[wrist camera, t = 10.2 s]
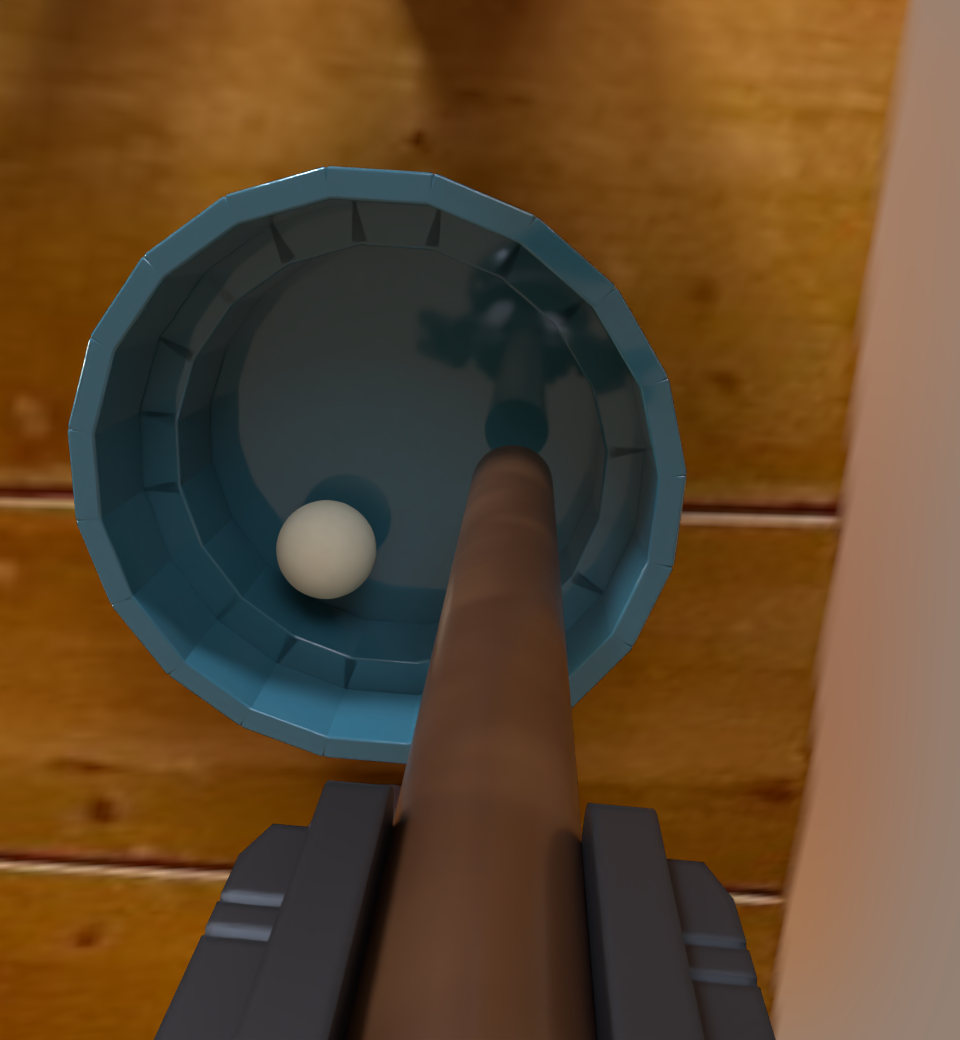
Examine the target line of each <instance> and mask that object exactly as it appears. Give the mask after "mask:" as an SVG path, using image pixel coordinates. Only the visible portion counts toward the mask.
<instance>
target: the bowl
mask: <svg viewBox="0 0 960 1040" xmlns="http://www.w3.org/2000/svg"><path fill="white" fill-rule="evenodd" d="M68 427H69V428H70V429H69V430H68V439H69V450H70V461H71V471H72V482H73V493H74V504H75V515H76V520H77V525H78V527H79V530H80V532H81V535H82V537H83V539H84V542H85V544H86V546H87V549H88V551H89V554H90V556H91V558H92V561H93V563H94V566H95V568H96V570H97V573H98V575H99V577H100V580H101V582H102V585H103V587H104V589H105V592H106V594H107V597H108V599H109V601H110V603H111V604H112V607H113V608H114V609H115V611H116V612H117V613H118V614H119V616H120V617H121V618H122V619H123V620H124V622H125V623H126V624H127V625H128V627H129V628H130V629H131V630H132V632H133V633H134V634H135V635H136V636H137V638H138V639H139V640H140V641H141V643H142V644H143V645H144V646H145V648H146V649H147V650H148V651H149V652H150V654H151V655H152V656H153V657H154V659H155V660H156V661H157V662H158V664H159V665H160V666H161V667H162V668H163V670H164V671H165V672H166V673H167V674H169V675H170V677H172V678H173V679H175V680H176V681H177V682H179V683H180V684H182V685H183V686H184V687H186V688H187V689H189V690H190V691H191V692H193V693H194V694H196V695H197V696H198V697H200V698H201V699H203V700H204V701H205V702H207V703H208V704H210V705H211V706H213V707H214V708H215V709H217V710H218V711H220V712H221V713H222V714H224V715H225V716H227V717H228V718H229V719H231V720H232V721H234V722H235V723H236V724H238V725H242V727H243V728H246V729H248V730H251V731H254V732H257V733H259V734H262V735H265V736H267V737H270V738H273V739H276V740H278V741H281V742H284V743H286V744H289V745H292V746H295V747H297V748H300V749H303V750H305V751H308V752H311V753H314V754H316V755H319V756H323V755H324V756H325V757H331V758H343V759H354V760H366V761H377V762H389V763H400V764H407V760H408V755H409V751H410V747H411V742H412V738H413V734H414V729H415V725H416V721H417V716H418V712H419V708H420V703H421V699H422V695H423V690H424V686H425V681H426V677H427V673H428V668H429V664H430V660H431V655H432V651H433V647H434V642H435V638H436V634H437V629H438V625H439V621H440V616H441V612H442V608H443V603H444V599H445V594H446V590H447V586H448V581H449V577H450V573H451V568H452V564H453V560H454V555H455V551H456V547H457V542H458V538H459V534H460V529H461V525H462V520H463V516H464V512H465V507H466V503H467V499H468V494H469V490H470V486H471V481H472V477H473V473H474V470H475V468H476V466H477V464H478V462H479V461H480V460H481V459H482V458H483V457H484V456H485V455H486V454H487V453H488V452H490V451H492V450H493V449H496V448H498V447H501V446H506V445H518V446H523V447H526V448H529V449H531V450H533V451H535V452H536V453H537V454H539V455H540V456H541V457H542V458H543V459H544V460H545V462H546V463H547V465H548V467H549V469H550V471H551V474H552V479H553V491H554V503H555V515H556V527H557V539H558V551H559V564H560V576H561V588H562V600H563V612H564V625H565V637H566V649H567V661H568V673H569V685H570V698H571V708H573V707H574V706H575V705H576V704H577V703H578V702H579V701H580V700H581V699H582V698H583V697H584V696H585V695H586V694H587V693H588V692H589V691H590V690H591V689H592V688H593V687H594V686H595V685H596V684H597V683H598V682H599V681H600V680H601V679H602V678H603V677H604V676H605V675H606V674H607V673H608V672H609V671H610V670H611V669H612V668H613V667H614V666H615V665H616V664H617V663H618V662H619V661H620V660H621V659H622V658H623V657H624V656H625V655H626V654H627V653H628V652H629V651H630V650H631V649H632V646H633V645H634V644H635V642H636V640H637V638H638V636H639V634H640V632H641V630H642V628H643V626H644V625H645V623H646V621H647V619H648V617H649V615H650V613H651V611H652V609H653V607H654V605H655V603H656V601H657V599H658V597H659V595H660V593H661V591H662V589H663V587H664V585H665V583H666V581H667V579H668V577H669V575H670V574H671V572H672V566H673V565H674V562H675V555H676V548H677V542H678V535H679V528H680V521H681V514H682V507H683V500H684V493H685V486H686V479H687V477H686V473H687V471H686V465H685V460H684V455H683V450H682V444H681V439H680V434H679V429H678V423H677V418H676V413H675V408H674V403H673V397H672V392H671V387H670V382H669V379H668V378H667V374H666V372H665V370H664V368H663V367H662V365H661V363H660V361H659V360H658V358H657V356H656V354H655V353H654V351H653V349H652V347H651V346H650V344H649V342H648V340H647V339H646V337H645V335H644V333H643V332H642V330H641V328H640V326H639V325H638V323H637V321H636V319H635V318H634V316H633V314H632V312H631V311H630V309H629V307H628V305H627V304H626V302H625V300H624V298H623V297H622V295H621V293H620V291H619V290H618V289H617V288H616V287H615V285H614V284H613V283H612V282H611V281H610V280H609V279H607V278H606V277H605V276H604V275H603V274H602V273H601V272H600V271H598V270H597V269H596V268H595V267H594V266H593V265H592V264H590V263H589V262H588V261H587V260H586V259H585V258H584V257H583V256H581V255H580V254H579V253H578V252H577V251H576V250H575V249H574V248H572V247H571V246H570V245H569V244H568V243H567V242H566V241H565V240H563V239H562V238H561V237H560V236H559V235H558V234H557V233H556V232H554V231H553V230H552V229H551V228H550V227H549V226H548V225H547V224H545V223H544V222H543V221H542V220H541V219H540V218H538V217H535V215H534V214H532V213H530V212H527V211H525V210H522V209H520V208H518V207H515V206H513V205H510V204H508V203H506V202H503V201H501V200H499V199H496V198H494V197H491V196H489V195H487V194H484V193H482V192H480V191H477V190H475V189H472V188H470V187H468V186H465V185H463V184H460V183H458V182H456V181H453V180H451V179H449V178H446V177H444V176H441V175H439V174H433V173H431V172H416V171H401V170H385V169H369V168H354V167H338V166H328V167H320V168H317V169H313V170H310V171H306V172H303V173H299V174H296V175H292V176H289V177H285V178H282V179H278V180H275V181H271V182H268V183H264V184H261V185H258V186H254V187H251V188H247V189H244V190H240V191H237V192H233V193H230V194H227V195H226V197H221V198H220V199H219V200H217V201H216V202H215V203H213V204H212V205H210V206H209V207H208V208H206V209H205V210H204V211H202V212H201V213H200V214H198V215H197V216H196V217H194V218H193V219H191V220H190V221H189V222H187V223H186V224H185V225H183V226H182V227H181V228H179V229H178V230H177V231H175V232H174V233H172V234H171V235H170V236H168V237H167V238H166V239H164V240H163V241H162V242H160V243H159V244H157V245H156V246H155V247H153V248H152V249H151V250H149V251H148V252H147V253H146V254H145V256H144V257H142V258H141V259H140V261H139V262H138V264H137V265H136V267H135V268H134V270H133V271H132V273H131V274H130V276H129V277H128V279H127V280H126V282H125V283H124V285H123V287H122V288H121V290H120V291H119V293H118V294H117V296H116V297H115V299H114V300H113V302H112V303H111V305H110V306H109V308H108V309H107V311H106V312H105V314H104V315H103V317H102V319H101V320H100V322H99V323H98V325H97V326H96V328H95V329H94V331H93V332H92V334H91V338H90V339H89V342H88V346H87V350H86V354H85V359H84V363H83V367H82V371H81V375H80V379H79V384H78V388H77V392H76V396H75V400H74V405H73V409H72V413H71V417H70V421H69V425H68ZM321 500H332V501H338V502H342V503H345V504H347V505H349V506H351V507H353V508H354V509H356V510H357V511H359V512H360V513H361V514H362V515H363V516H364V517H365V519H366V520H367V521H368V523H369V524H370V526H371V528H372V530H373V533H374V536H375V540H376V558H375V563H374V566H373V568H372V571H371V572H370V574H369V576H368V577H367V579H366V580H365V581H364V583H362V584H361V585H360V586H359V587H358V588H357V589H355V590H354V591H353V592H351V593H349V594H347V595H344V596H341V597H338V598H333V599H320V598H314V597H311V596H308V595H305V594H303V593H302V592H300V591H298V590H297V589H295V588H294V587H293V586H292V585H291V584H290V583H289V582H288V581H287V580H286V578H285V577H284V575H283V574H282V572H281V570H280V567H279V564H278V560H277V554H276V545H277V539H278V535H279V532H280V530H281V528H282V526H283V524H284V523H285V521H286V520H287V519H288V517H289V516H290V515H291V514H292V513H294V512H295V511H296V510H297V509H299V508H300V507H302V506H304V505H306V504H309V503H311V502H315V501H321Z"/></svg>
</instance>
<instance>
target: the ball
mask: <svg viewBox="0 0 960 1040" xmlns="http://www.w3.org/2000/svg"><path fill="white" fill-rule="evenodd" d="M276 554H277V560H278V564H279V567H280V570H281V572H282V574H283V575H284V577H285V578H286V580H287V581H288V582H289V583H290V584H291V585H292V586H293V587H294V588H295V589H297V590H298V591H300V592H302V593H303V594H305V595H308V596H311V597H314V598H320V599H333V598H338V597H341V596H344V595H347V594H349V593H351V592H353V591H354V590H355V589H357V588H358V587H359V586H360V585H361V584H362V583H364V581H365V580H366V579H367V577H368V576H369V574H370V572H371V571H372V568H373V566H374V563H375V558H376V540H375V536H374V533H373V530H372V528H371V526H370V524H369V523H368V521H367V520H366V519H365V517H364V516H363V515H362V514H361V513H360V512H359V511H357V510H356V509H354V508H353V507H351V506H349V505H347V504H345V503H342V502H338V501H332V500H321V501H315V502H311V503H309V504H306V505H304V506H302V507H300V508H299V509H297V510H296V511H295V512H294V513H292V514H291V515H290V516H289V517H288V519H287V520H286V521H285V523H284V524H283V526H282V528H281V530H280V532H279V535H278V539H277V545H276Z"/></svg>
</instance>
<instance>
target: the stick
mask: <svg viewBox="0 0 960 1040" xmlns="http://www.w3.org/2000/svg"><path fill="white" fill-rule="evenodd" d="M581 841H582V831H581V819H580V807H579V795H578V783H577V771H576V758H575V746H574V734H573V722H572V710H571V698H570V685H569V673H568V661H567V649H566V637H565V625H564V612H563V600H562V588H561V576H560V564H559V551H558V539H557V527H556V515H555V503H554V491H553V479H552V474H551V471H550V469H549V467H548V465H547V463H546V462H545V460H544V459H543V458H542V457H541V456H540V455H539V454H537V453H536V452H535V451H533V450H531V449H529V448H526V447H523V446H518V445H506V446H501V447H498V448H496V449H493V450H492V451H490V452H488V453H487V454H486V455H485V456H484V457H483V458H482V459H481V460H480V461H479V462H478V464H477V466H476V468H475V470H474V473H473V477H472V481H471V486H470V490H469V494H468V499H467V503H466V507H465V512H464V516H463V520H462V525H461V529H460V534H459V538H458V542H457V547H456V551H455V555H454V560H453V564H452V568H451V573H450V577H449V581H448V586H447V590H446V594H445V599H444V603H443V608H442V612H441V616H440V621H439V625H438V629H437V634H436V638H435V642H434V647H433V651H432V655H431V660H430V664H429V668H428V673H427V677H426V681H425V686H424V690H423V695H422V699H421V703H420V708H419V712H418V716H417V721H416V725H415V729H414V734H413V738H412V742H411V747H410V751H409V755H408V760H407V764H406V768H405V773H404V777H403V782H402V786H401V790H400V795H399V799H398V803H397V808H396V812H395V816H394V821H393V830H392V835H391V839H390V843H389V848H388V852H387V857H386V861H385V865H384V870H383V874H382V879H381V883H380V887H379V892H378V896H377V901H376V905H375V909H374V914H373V918H372V923H371V927H370V931H369V936H368V940H367V945H366V949H365V953H364V958H363V962H362V967H361V971H360V975H359V980H358V984H357V989H356V993H355V997H354V1002H353V1006H352V1011H351V1015H350V1019H349V1024H348V1028H347V1033H346V1037H345V1040H597V1034H596V1021H595V1009H594V996H593V984H592V971H591V959H590V946H589V934H588V921H587V909H586V896H585V884H584V871H583V859H582V846H581Z"/></svg>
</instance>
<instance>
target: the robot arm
mask: <svg viewBox="0 0 960 1040" xmlns="http://www.w3.org/2000/svg"><path fill="white" fill-rule="evenodd" d="M393 818H394V788H393V786H388V785H377V784H365V783H353V782H342V781H330V780H328V781H327V782H326V784H325V786H324V788H323V791H322V794H321V796H320V799H319V802H318V805H317V807H316V810H315V813H314V816H313V818H312V821H311V824H310V827H304V826H293V825H281V824H272V825H271V826H270V827H269V828H268V829H267V830H266V831H265V832H263V833H262V834H261V835H260V836H259V837H258V838H257V839H256V840H255V841H254V842H252V843H251V844H250V845H249V846H248V847H247V848H246V849H245V850H244V851H243V852H241V853H240V854H239V856H238V858H237V860H236V862H235V865H234V867H233V869H232V871H231V873H230V875H229V878H228V880H227V882H226V884H225V886H224V888H223V891H222V893H221V899H220V902H218V901H217V904H216V906H215V908H214V910H213V912H212V915H211V917H210V919H209V921H208V923H207V925H206V931H205V935H202V936H201V938H200V941H199V943H198V945H197V947H196V949H195V951H194V954H193V956H192V958H191V960H190V962H189V965H188V967H187V969H186V971H185V973H184V975H183V978H182V980H181V982H180V984H179V986H178V988H177V991H176V993H175V995H174V997H173V999H172V1001H171V1004H170V1006H169V1008H168V1010H167V1012H166V1014H165V1017H164V1019H163V1021H162V1023H161V1025H160V1028H159V1030H158V1032H157V1034H156V1036H155V1038H154V1040H345V1037H346V1033H347V1028H348V1024H349V1019H350V1015H351V1011H352V1006H353V1002H354V997H355V993H356V989H357V984H358V980H359V975H360V971H361V967H362V962H363V958H364V953H365V949H366V945H367V940H368V936H369V931H370V927H371V923H372V918H373V914H374V909H375V905H376V901H377V896H378V892H379V887H380V883H381V879H382V874H383V870H384V865H385V861H386V857H387V852H388V848H389V843H390V839H391V835H392V830H393ZM581 846H582V859H583V871H584V884H585V896H586V909H587V921H588V934H589V946H590V959H591V971H592V984H593V996H594V1009H595V1021H596V1034H597V1040H775V1037H774V1033H773V1030H772V1027H771V1023H770V1020H769V1016H768V1013H767V1010H766V1006H765V1003H764V1000H763V996H762V993H761V990H760V988H759V987H757V976H756V973H755V969H754V966H753V963H752V959H751V956H750V953H749V950H746V939H745V936H744V932H743V929H742V926H741V922H740V919H739V916H738V912H737V909H736V906H735V902H734V899H733V898H732V897H731V896H730V894H729V893H728V892H727V891H726V889H725V888H724V887H723V886H722V884H721V883H720V882H719V881H718V880H717V878H716V877H715V876H714V875H713V873H712V872H711V871H710V870H709V868H708V867H707V866H706V865H705V863H704V862H696V861H685V860H674V859H666V854H665V850H664V845H663V840H662V835H661V831H660V826H659V821H658V817H657V813H656V811H655V810H654V809H650V808H638V807H627V806H615V805H604V804H592V803H588V804H587V807H586V811H585V817H584V825H583V833H582V841H581Z"/></svg>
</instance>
